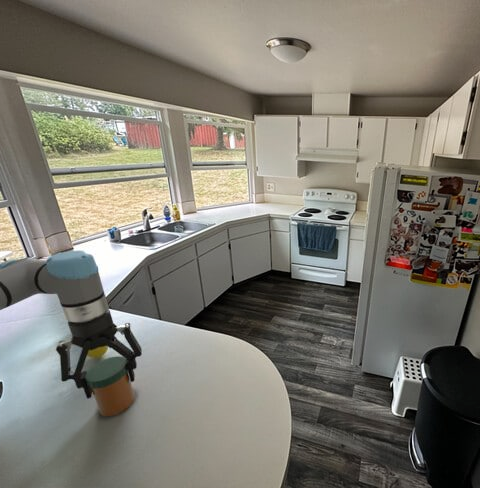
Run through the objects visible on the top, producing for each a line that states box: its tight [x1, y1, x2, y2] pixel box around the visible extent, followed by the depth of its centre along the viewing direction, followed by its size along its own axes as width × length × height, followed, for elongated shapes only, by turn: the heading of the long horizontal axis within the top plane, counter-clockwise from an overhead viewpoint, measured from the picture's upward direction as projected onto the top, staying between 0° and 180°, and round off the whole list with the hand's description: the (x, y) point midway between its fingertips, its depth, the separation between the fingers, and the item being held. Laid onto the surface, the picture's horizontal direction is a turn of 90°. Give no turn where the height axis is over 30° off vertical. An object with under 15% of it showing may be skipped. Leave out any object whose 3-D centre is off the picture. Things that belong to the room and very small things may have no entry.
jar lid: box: [85, 355, 128, 388], centre depth 65 cm, size 8×8×2 cm
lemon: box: [87, 346, 109, 359], centre depth 83 cm, size 6×6×8 cm
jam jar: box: [91, 371, 136, 417], centre depth 67 cm, size 8×8×12 cm
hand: (112, 385), depth 67 cm, fingers closed on jar lid, 8 cm apart
